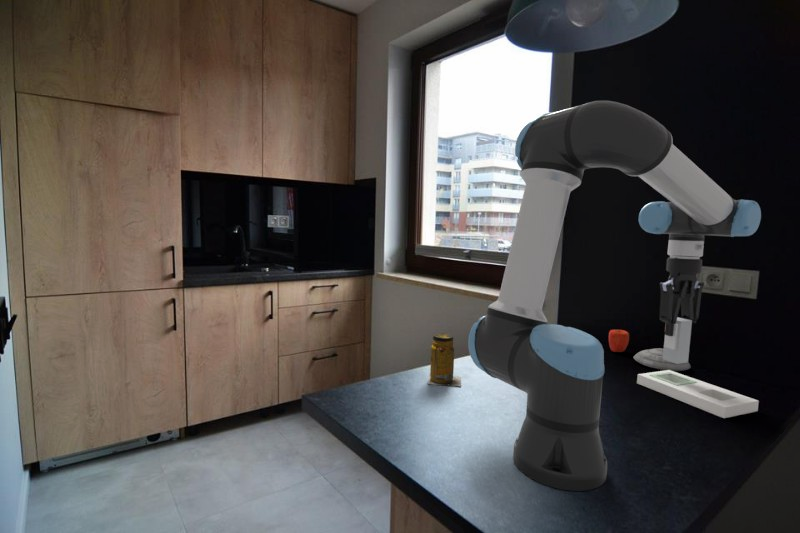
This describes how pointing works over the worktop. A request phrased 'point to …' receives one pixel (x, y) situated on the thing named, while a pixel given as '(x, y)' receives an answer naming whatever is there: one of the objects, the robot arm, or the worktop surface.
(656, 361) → the flying saucer
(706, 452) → the worktop surface
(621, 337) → the apple
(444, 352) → the condiment
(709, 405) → the panel
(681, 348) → the plug
